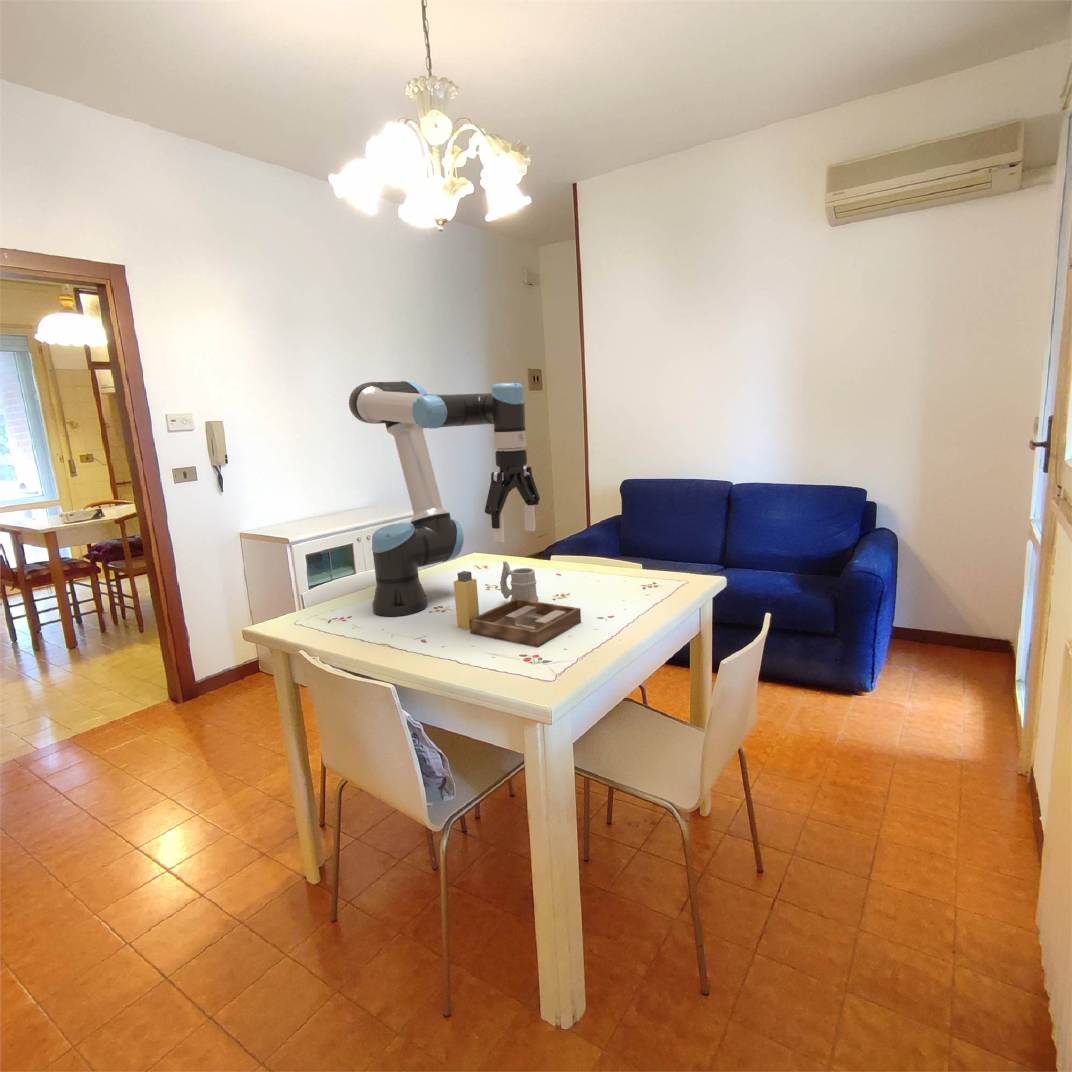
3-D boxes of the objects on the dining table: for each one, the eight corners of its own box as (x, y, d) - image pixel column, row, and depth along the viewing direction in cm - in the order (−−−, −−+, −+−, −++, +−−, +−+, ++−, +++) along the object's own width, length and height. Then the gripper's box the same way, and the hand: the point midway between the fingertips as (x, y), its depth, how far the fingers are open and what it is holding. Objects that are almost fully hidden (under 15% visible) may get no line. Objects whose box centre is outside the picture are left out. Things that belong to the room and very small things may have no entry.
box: (470, 633, 152) (469, 619, 151) (516, 611, 167) (516, 598, 166) (537, 647, 140) (536, 632, 140) (581, 621, 156) (580, 608, 155)
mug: (528, 611, 166) (525, 567, 164) (493, 605, 173) (490, 563, 171) (544, 603, 172) (541, 561, 170) (510, 598, 179) (507, 557, 177)
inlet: (505, 629, 152) (504, 615, 151) (527, 618, 159) (526, 605, 158) (545, 636, 145) (545, 622, 144) (566, 625, 152) (565, 611, 151)
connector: (457, 627, 157) (452, 573, 154) (468, 622, 160) (463, 569, 157) (469, 629, 155) (465, 575, 152) (480, 624, 158) (475, 571, 155)
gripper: (492, 454, 137) (497, 547, 142) (551, 445, 158) (554, 527, 162) (465, 453, 141) (471, 545, 146) (526, 445, 162) (530, 525, 166)
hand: (515, 535), depth 154 cm, fingers open, 13 cm apart
